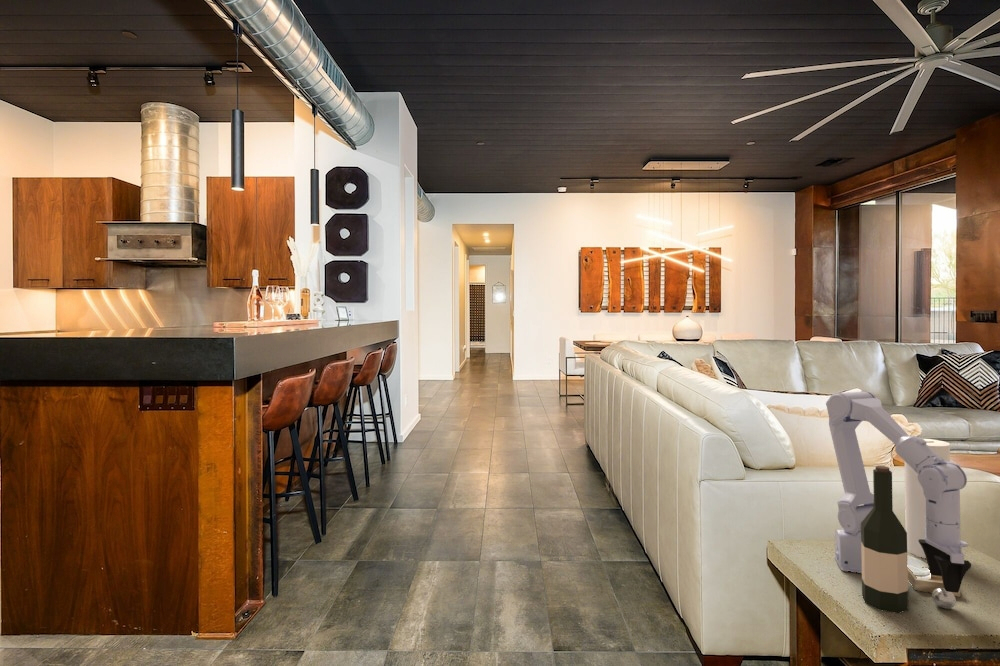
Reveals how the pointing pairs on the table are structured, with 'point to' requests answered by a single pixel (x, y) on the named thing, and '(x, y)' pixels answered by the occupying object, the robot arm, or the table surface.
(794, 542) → the table surface
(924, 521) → the paper towel roll
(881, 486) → the wine bottle
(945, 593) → the ball
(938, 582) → the tray
